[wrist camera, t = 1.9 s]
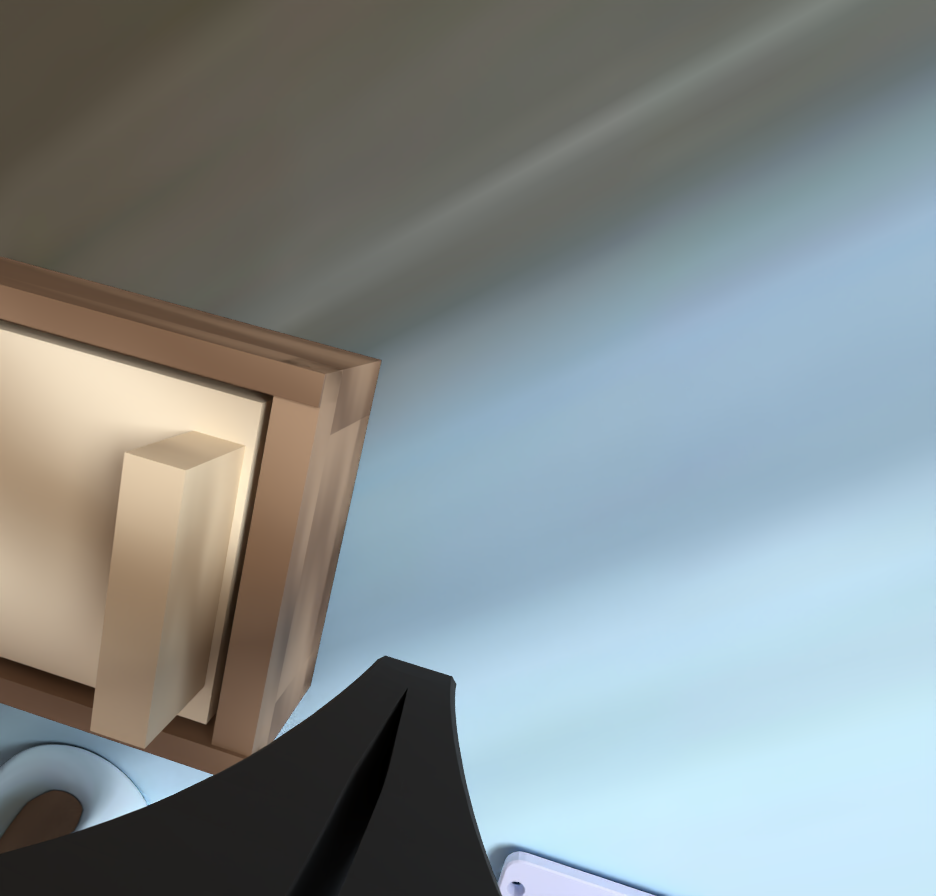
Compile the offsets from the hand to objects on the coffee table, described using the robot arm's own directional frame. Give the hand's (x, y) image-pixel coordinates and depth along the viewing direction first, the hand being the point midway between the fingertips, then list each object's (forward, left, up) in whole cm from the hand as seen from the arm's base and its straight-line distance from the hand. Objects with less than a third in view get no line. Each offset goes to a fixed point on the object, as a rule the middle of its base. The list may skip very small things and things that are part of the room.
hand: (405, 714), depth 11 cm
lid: (0, +10, -4) cm, 10 cm away
